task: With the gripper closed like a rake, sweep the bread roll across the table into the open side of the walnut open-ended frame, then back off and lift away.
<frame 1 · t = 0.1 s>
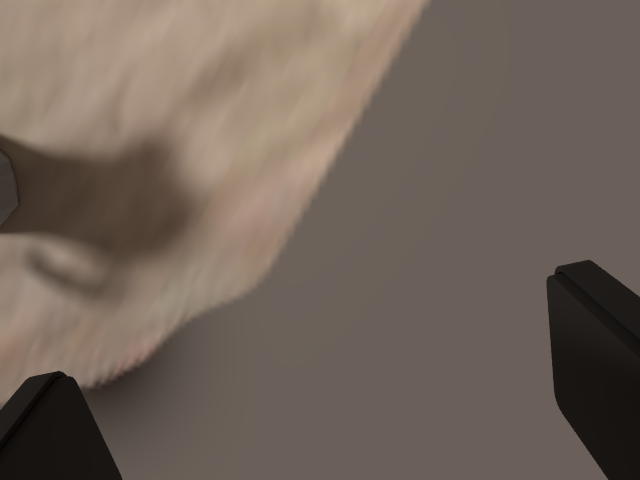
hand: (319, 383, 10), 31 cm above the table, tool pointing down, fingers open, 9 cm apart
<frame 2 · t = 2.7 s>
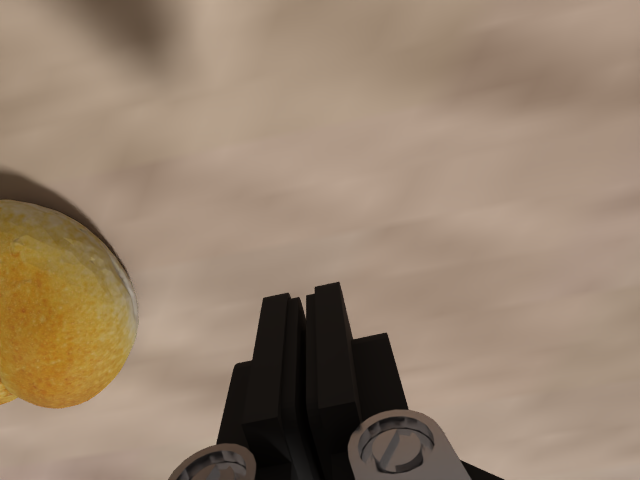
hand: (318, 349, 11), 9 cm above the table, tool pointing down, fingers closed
bread roll: (26, 296, 20), on the table
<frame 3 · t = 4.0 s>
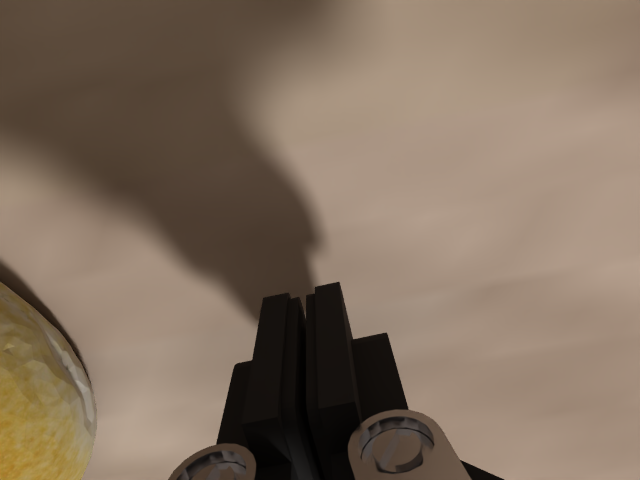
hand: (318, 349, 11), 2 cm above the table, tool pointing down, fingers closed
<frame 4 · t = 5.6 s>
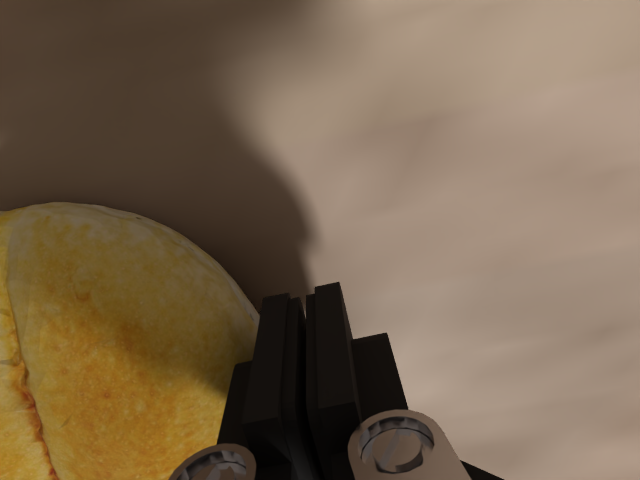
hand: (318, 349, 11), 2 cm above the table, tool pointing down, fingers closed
bread roll: (96, 350, 13), on the table, touching gripper
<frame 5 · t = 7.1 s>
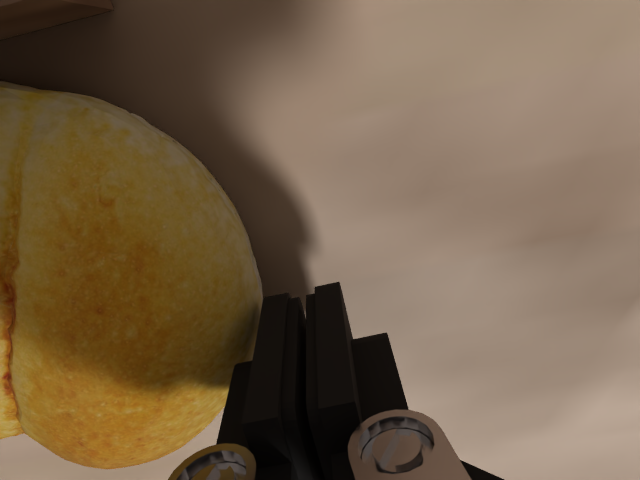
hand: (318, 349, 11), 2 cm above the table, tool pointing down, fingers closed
bread roll: (73, 265, 12), on the table, touching gripper
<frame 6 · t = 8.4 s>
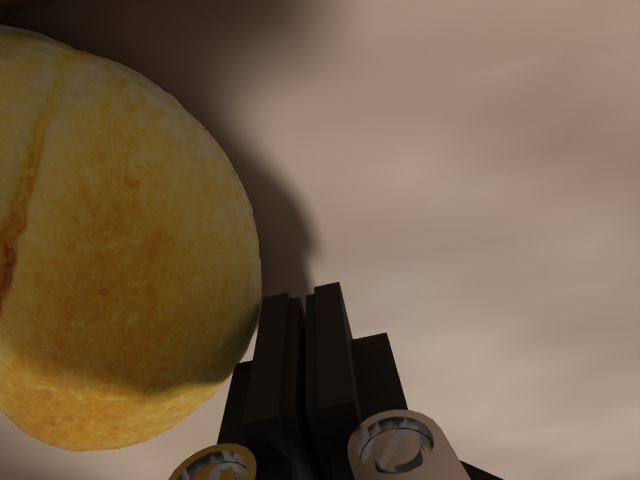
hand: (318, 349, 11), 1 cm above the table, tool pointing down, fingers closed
walnut open-ended frame: (54, 357, 13), on the table
bread roll: (67, 233, 12), on the table, touching gripper, walnut open-ended frame
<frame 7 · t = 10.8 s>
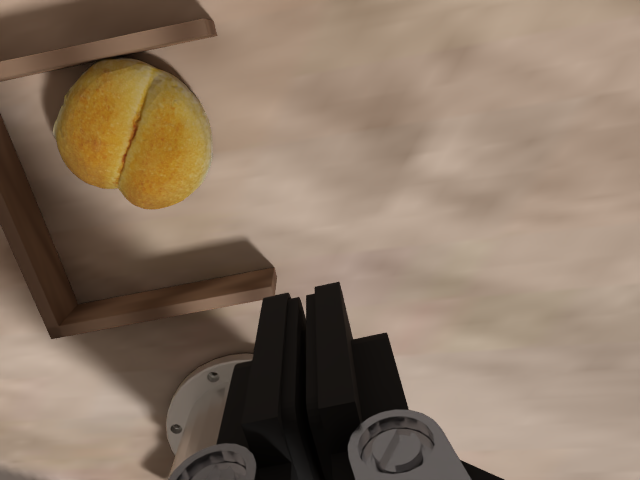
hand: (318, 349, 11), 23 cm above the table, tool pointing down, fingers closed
walnut open-ended frame: (135, 183, 33), on the table
bread roll: (142, 133, 32), on the table
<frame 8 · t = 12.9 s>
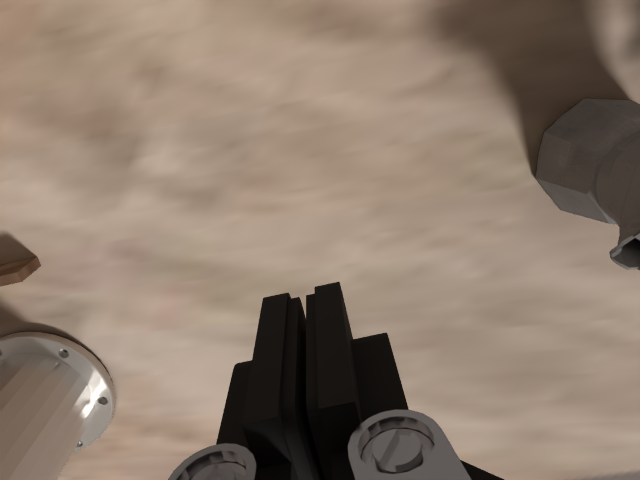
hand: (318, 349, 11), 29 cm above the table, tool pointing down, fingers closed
coffeepot: (605, 150, 39), on the table
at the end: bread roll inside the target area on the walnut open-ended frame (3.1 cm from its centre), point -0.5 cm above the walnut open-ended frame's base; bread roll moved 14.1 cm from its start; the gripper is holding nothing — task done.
